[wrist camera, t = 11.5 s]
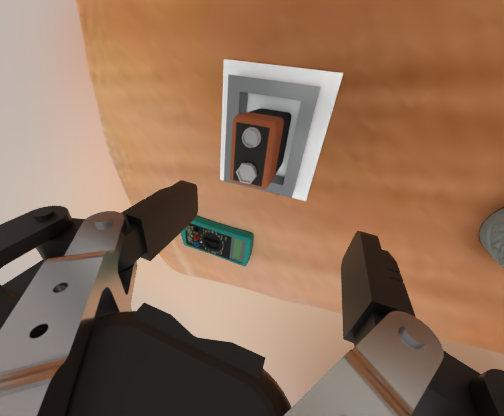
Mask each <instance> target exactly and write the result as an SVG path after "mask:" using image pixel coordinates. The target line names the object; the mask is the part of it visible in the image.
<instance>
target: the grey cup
mask: <svg viewBox="0 0 504 416" xmlns="http://www.w3.org/2000/svg"><path fill="white" fill-rule="evenodd" d="M479 237H480V241H481V243H482V245H483V247H484V248H485V249H486V250H487V251H488V253H489V254H490V255H491V256H492V257H493V258H494V259H495V260H496V261H497V262H498V263H499V264H500V265H502V267H503V268H504V208H503V209H500V210H498V211H497V212H495V213H493V214H492V215H491V216H489V217H488V218H487V219H486V220H485V222H484V223H483V225H482V227H481V229H480V232H479Z"/></svg>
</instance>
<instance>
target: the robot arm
mask: <svg viewBox="0 0 504 416" xmlns="http://www.w3.org/2000/svg"><path fill="white" fill-rule="evenodd" d="M197 212H198V196H197V186H196V185H195V184H193V183H189V182H186V181H182V180H181V181H179V182H177V183H176V184H174V185H172V186H171V187H168V188H164V189H161V190H159V191H157V192H155V193H154V194H152V195H150V196H149V197H147V198H146V199H144V200H142V201H140V202H139V203H137V204H135V205H134V206H132V207H130V208H129V209H127V210H125V211H123V212H122V213H119V212H115V211H106V212H101V213H97V214H94V215H92V216H90V217H88V218H87V219H76V218H71V216H70V214H69V211H68V209H67V208H65V207H62V206H48V207H43V208H39V209H36V210H33V211H30V212H28V213H26V214H24V215H22V216H19V217H17V218H15V219H13V220H10V221H8V222H6V223H3V224H1V225H0V268H2V267H3V266H4V265H6V264H8V263H9V262H11V261H13V260H15V259H16V258H18V257H20V256H22V255H23V254H25V253H27V252H28V251H30V250H32V249H34V248H36V249H37V250H38V252H39V253H40V255H41V257H42V258H43V260H42V261H40V262H39V263H37V264H36V265H34V266H32V267H31V268H29V269H28V270H26V271H24V272H23V273H21V274H20V275H18V276H17V277H15V278H14V279H12V280H10V281H9V282H7V283H6V284H4V285H2V286H1V285H0V416H504V371H502V370H498V369H491V370H488V371H486V372H484V373H483V374H480V373H478V372H476V371H475V370H473V369H472V368H470V367H468V366H467V365H465V364H464V363H462V362H460V361H459V360H457V359H456V358H454V357H452V356H451V355H449V354H448V353H446V352H445V351H443V348H442V346H441V344H440V342H439V340H438V338H437V337H436V335H435V334H434V333H433V332H432V330H431V329H430V328H429V327H428V326H426V325H425V324H424V323H423V322H422V321H420V320H419V319H417V318H416V317H415V314H414V311H413V308H412V305H411V302H410V299H409V297H408V294H407V291H406V288H405V285H404V283H403V279H402V277H401V274H400V271H399V268H398V265H397V262H396V261H395V260H394V258H393V257H392V256H391V255H390V253H389V252H388V251H385V250H382V249H381V246H380V242H379V239H378V237H377V236H375V235H372V234H368V233H364V232H361V231H357V232H356V234H355V236H354V237H353V239H352V241H351V243H350V245H349V247H348V249H347V251H346V253H345V255H344V257H343V260H342V265H341V280H342V310H343V339H345V340H348V341H350V342H352V343H354V345H355V347H354V348H353V349H352V350H350V351H349V352H348V353H347V354H346V355H344V357H343V358H342V359H341V360H339V361H338V362H337V363H336V364H335V365H334V366H333V367H332V369H330V370H329V371H328V372H327V373H326V374H325V375H324V376H323V377H322V378H321V379H320V380H319V381H318V382H317V383H316V384H315V385H314V386H313V387H312V388H311V390H309V391H308V392H307V393H306V394H305V395H304V396H303V397H302V398H301V399H300V400H299V401H298V402H297V403H296V404H295V405H294V406H293V407H291V405H290V403H289V401H288V399H287V398H286V396H285V394H284V392H283V391H282V389H281V388H280V387H279V385H278V384H277V382H275V380H274V379H273V378H272V377H271V376H270V375H269V374H268V373H267V372H266V371H265V370H264V369H263V365H264V360H265V357H262V356H260V355H258V354H256V353H254V352H252V351H249V350H247V349H245V348H243V347H241V346H238V345H236V344H234V343H231V342H224V341H217V340H209V339H202V338H197V337H195V336H193V335H192V334H191V333H190V332H189V331H188V330H187V329H185V328H184V327H183V326H182V325H181V324H180V323H179V322H178V321H177V320H176V319H175V318H174V317H173V316H172V315H170V314H168V313H166V312H163V311H161V310H159V309H157V308H155V307H152V306H150V305H148V304H146V303H143V305H142V306H141V307H140V308H139V309H138V310H137V311H132V310H131V299H132V293H133V287H134V280H135V275H136V269H137V262H136V261H137V260H138V259H139V258H140V257H141V258H144V259H146V260H149V261H151V260H152V259H153V258H154V257H155V256H156V255H157V254H158V253H159V252H160V251H162V250H163V249H164V248H165V247H166V246H167V245H168V244H169V243H170V242H171V241H172V240H173V239H174V238H175V237H176V236H177V235H178V234H179V233H181V232H182V231H183V230H184V229H185V228H186V227H187V226H188V225H189V224H190V223H191V222H192V221H193V220H194V219H195V217H196V215H197Z"/></svg>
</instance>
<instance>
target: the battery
mask: <svg viewBox="0 0 504 416" xmlns="http://www.w3.org/2000/svg"><path fill="white" fill-rule="evenodd" d="M290 122H291V114H290V113H289V112H283V111H276V110H269V109H263V108H260V109H257V110H253V111H250V112H246V113H243V114H239V115H236V116H235V117H234V118H233V127H232V147H231V167H230V179H231V181H232V182H235V183H240V184H244V185H248V186H252V187H256V188H260V189H266V188H267V187H268V186H269V184H270V183H271V181H272V179H273V178H274V176H275V175H276V173H277V171H278V170H279V168H280V167H281V165H282V163H283V159H284V154H285V149H286V143H287V138H288V133H289V128H290Z"/></svg>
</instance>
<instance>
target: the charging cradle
mask: <svg viewBox="0 0 504 416" xmlns="http://www.w3.org/2000/svg"><path fill="white" fill-rule="evenodd" d="M342 76H343V73H339V72H330V71H322V70H313V69H304V68H296V67H287V66H279V65H270V64H262V63H253V62H244V61H236V60H227V59H224V69H223V100H222V131H221V163H220V180H223V181H226V182H230V183H234V184H238V185H242V186H246V187H250V188H254V189H258V190H262V191H266V192H270V193H274V194H278V195H282V196H286V197H290V198H295V199H299V200H303V201H306V199H307V195H308V192H309V189H310V185H311V182H312V178H313V175H314V172H315V168H316V165H317V161H318V158H319V155H320V151H321V148H322V144H323V141H324V138H325V134H326V131H327V127H328V124H329V121H330V117H331V114H332V110H333V107H334V104H335V100H336V97H337V93H338V90H339V87H340V83H341V80H342ZM260 108H263V109H269V110H276V111H283V112H289V113H290V114H291V122H290V128H289V133H288V138H287V143H286V149H285V154H284V159H283V163H282V165H281V167H280V168H279V170H278V171H277V173H276V175H275V176H274V178H273V179H272V181H271V183H270V184H269V186H268V187H267V188H266V189H260V188H256V187H252V186H248V185H244V184H240V183H235V182H232V181H231V179H230V167H231V147H232V127H233V118H234V117H235V116H236V115H239V114H243V113H246V112H250V111H253V110H257V109H260Z"/></svg>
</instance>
